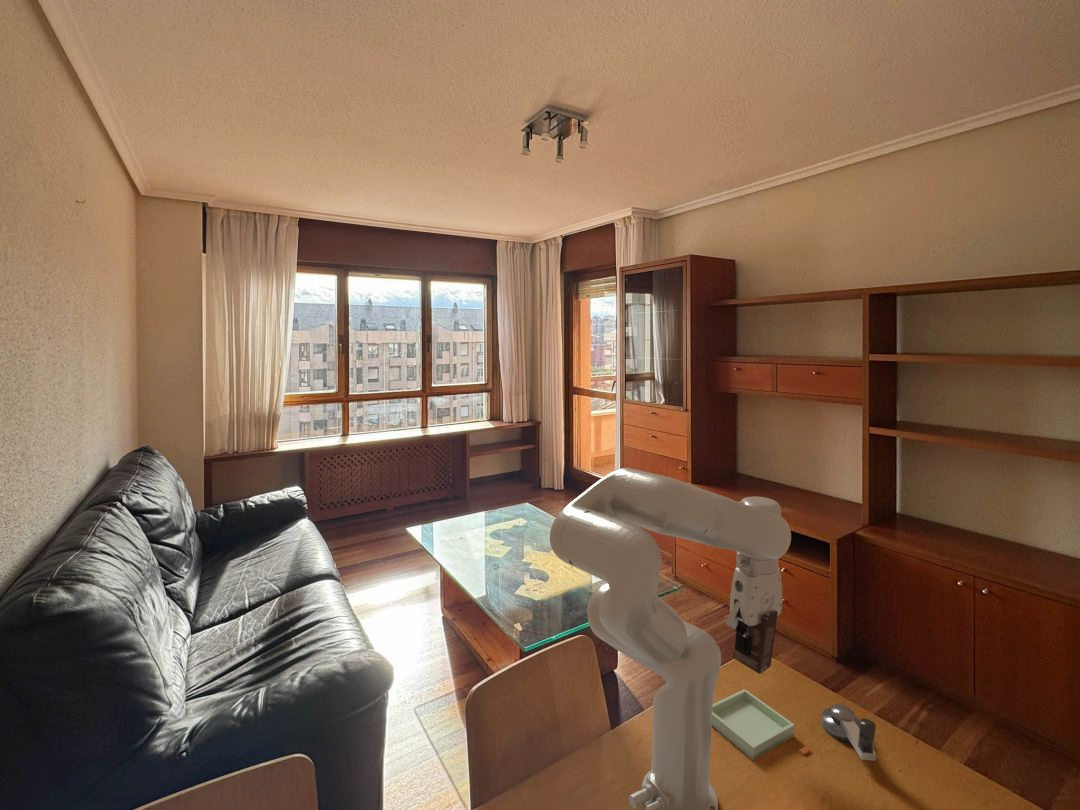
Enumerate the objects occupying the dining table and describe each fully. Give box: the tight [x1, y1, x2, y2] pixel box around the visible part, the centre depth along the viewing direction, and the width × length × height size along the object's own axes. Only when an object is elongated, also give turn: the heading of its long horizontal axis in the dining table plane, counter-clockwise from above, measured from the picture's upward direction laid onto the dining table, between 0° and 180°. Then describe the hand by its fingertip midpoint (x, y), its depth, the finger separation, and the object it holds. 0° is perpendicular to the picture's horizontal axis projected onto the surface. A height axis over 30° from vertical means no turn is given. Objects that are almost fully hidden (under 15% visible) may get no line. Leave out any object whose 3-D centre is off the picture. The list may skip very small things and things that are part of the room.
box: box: [732, 611, 779, 675], centre depth 102 cm, size 6×4×12 cm
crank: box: [830, 703, 877, 762], centre depth 100 cm, size 12×4×6 cm, turn 174°
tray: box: [712, 688, 795, 761], centre depth 105 cm, size 12×12×2 cm
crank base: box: [798, 707, 861, 756], centre depth 102 cm, size 16×7×2 cm, turn 119°
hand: (752, 647), depth 103 cm, fingers closed on box, 4 cm apart
